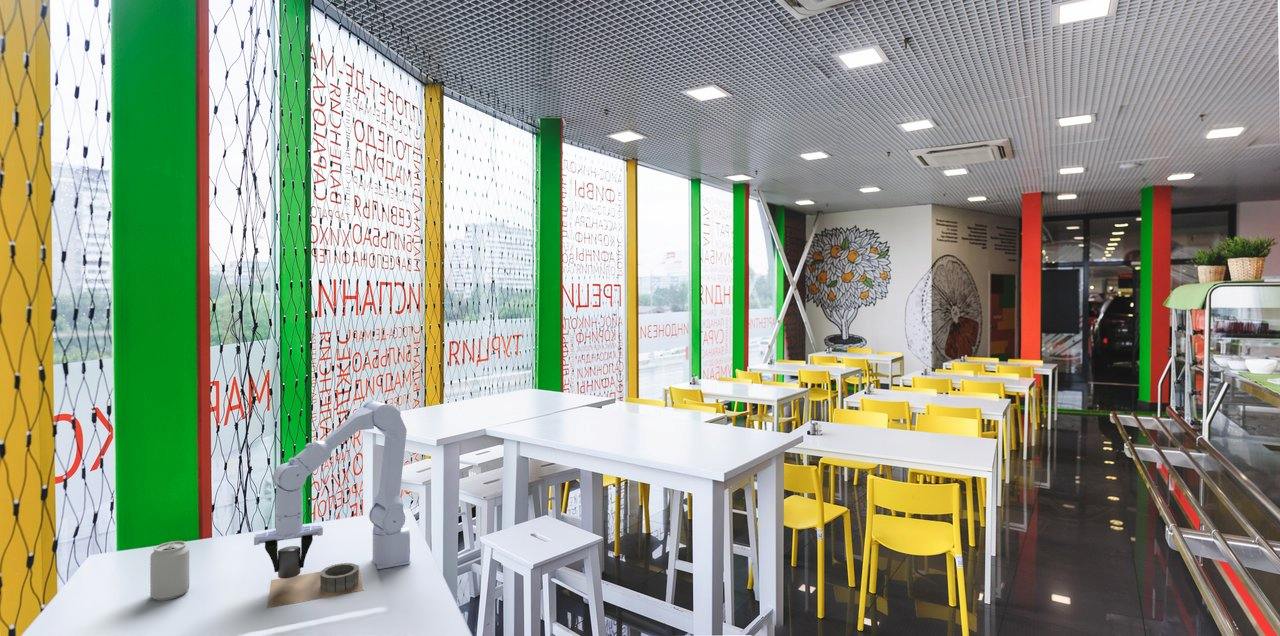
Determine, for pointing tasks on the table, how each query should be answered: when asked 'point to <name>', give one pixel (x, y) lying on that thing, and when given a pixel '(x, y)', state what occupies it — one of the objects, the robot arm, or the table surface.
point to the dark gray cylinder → (289, 562)
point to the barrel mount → (316, 585)
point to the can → (169, 570)
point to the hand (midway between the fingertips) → (289, 568)
